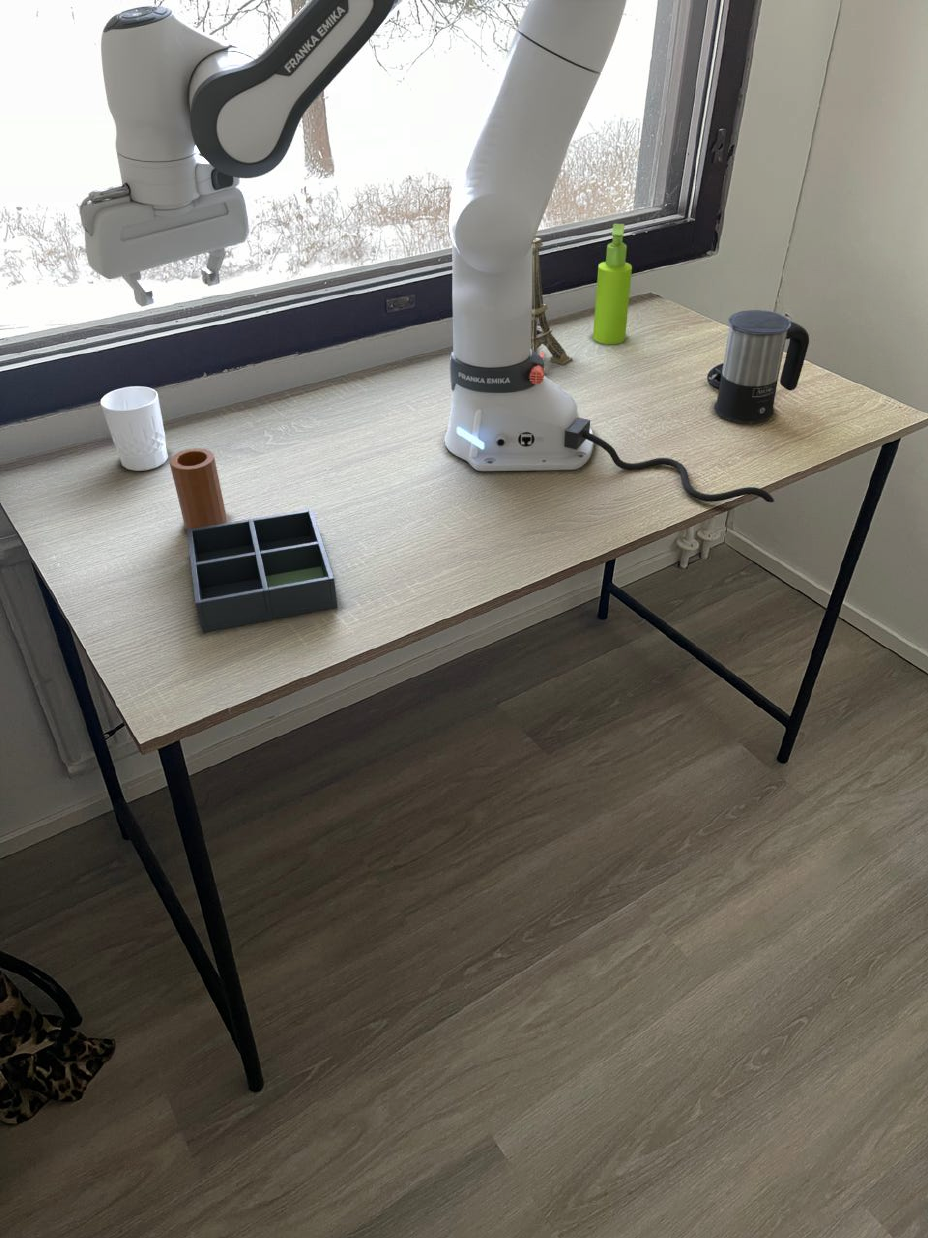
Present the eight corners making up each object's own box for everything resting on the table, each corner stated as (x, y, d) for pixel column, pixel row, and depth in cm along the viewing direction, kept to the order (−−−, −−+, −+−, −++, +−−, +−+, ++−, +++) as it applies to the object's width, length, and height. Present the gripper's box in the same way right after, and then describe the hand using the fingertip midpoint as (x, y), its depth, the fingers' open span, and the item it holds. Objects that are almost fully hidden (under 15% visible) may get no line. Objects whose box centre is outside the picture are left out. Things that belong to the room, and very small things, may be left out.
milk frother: (747, 430, 144) (765, 337, 135) (669, 396, 154) (681, 307, 144) (803, 404, 151) (824, 313, 142) (725, 372, 161) (740, 285, 151)
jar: (233, 515, 127) (220, 449, 121) (218, 537, 123) (203, 470, 117) (195, 511, 128) (180, 446, 122) (178, 533, 124) (162, 467, 118)
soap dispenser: (591, 345, 170) (600, 231, 158) (593, 330, 176) (602, 219, 163) (624, 347, 169) (635, 232, 157) (625, 332, 175) (636, 220, 162)
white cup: (143, 478, 135) (127, 415, 129) (106, 464, 139) (88, 402, 132) (183, 455, 141) (169, 393, 134) (146, 442, 144) (130, 381, 138)
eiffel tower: (572, 359, 166) (581, 210, 150) (535, 379, 160) (540, 226, 144) (525, 344, 171) (529, 199, 155) (488, 362, 165) (488, 213, 149)
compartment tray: (316, 536, 123) (312, 508, 120) (337, 607, 111) (334, 578, 109) (193, 557, 120) (186, 529, 117) (202, 632, 108) (195, 603, 105)
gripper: (91, 203, 99) (116, 326, 109) (251, 167, 111) (261, 281, 120) (61, 186, 102) (88, 306, 112) (220, 152, 114) (232, 264, 123)
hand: (178, 293), depth 116 cm, fingers open, 8 cm apart
